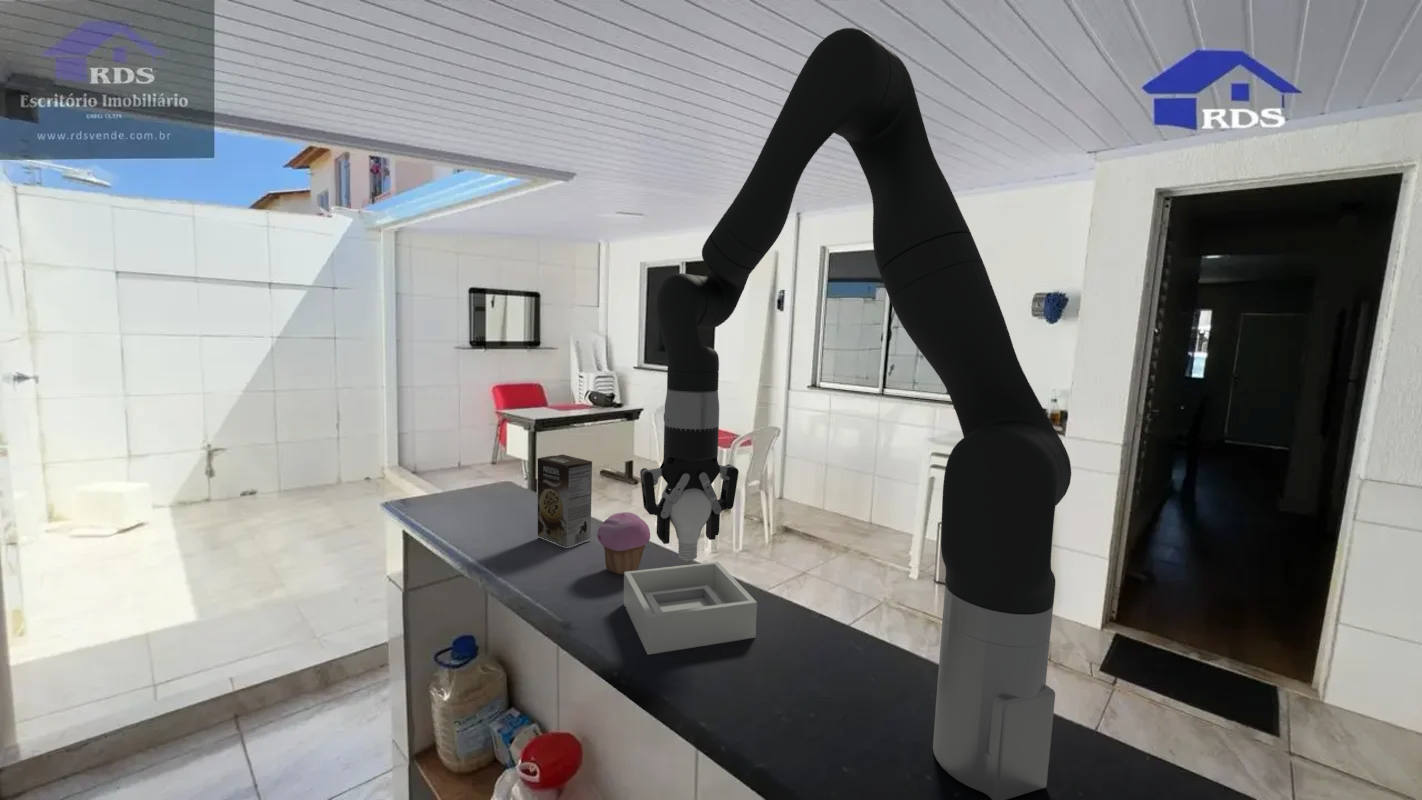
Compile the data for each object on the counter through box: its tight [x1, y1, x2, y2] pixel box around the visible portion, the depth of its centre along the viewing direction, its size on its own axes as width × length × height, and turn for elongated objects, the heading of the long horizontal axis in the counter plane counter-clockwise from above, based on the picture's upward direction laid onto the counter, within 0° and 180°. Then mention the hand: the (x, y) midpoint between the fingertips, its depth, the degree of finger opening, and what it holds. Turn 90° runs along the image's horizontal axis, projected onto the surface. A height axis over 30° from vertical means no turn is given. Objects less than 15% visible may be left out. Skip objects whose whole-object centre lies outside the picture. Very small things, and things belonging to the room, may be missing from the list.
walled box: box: [623, 561, 758, 656], centre depth 85 cm, size 15×15×5 cm
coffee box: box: [536, 453, 593, 547], centre depth 115 cm, size 9×6×16 cm
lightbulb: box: [668, 489, 712, 563], centre depth 84 cm, size 6×6×11 cm
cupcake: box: [596, 511, 651, 575], centre depth 102 cm, size 9×9×10 cm
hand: (688, 539), depth 84 cm, fingers closed on lightbulb, 6 cm apart
